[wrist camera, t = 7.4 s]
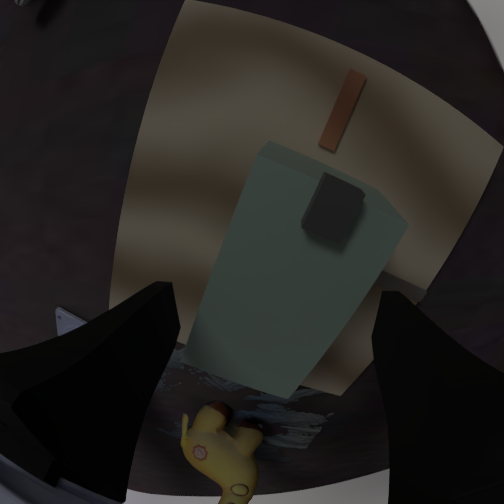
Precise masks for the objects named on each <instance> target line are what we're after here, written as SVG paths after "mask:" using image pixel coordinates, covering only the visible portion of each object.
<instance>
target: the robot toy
mask: <svg viewBox="0 0 504 504" xmlns="http://www.w3.org/2000/svg"><path fill="white" fill-rule="evenodd" d="M15 2H16V4H19V5H20V6H26V5H28V4H29V3H30V2H31V0H15Z"/></svg>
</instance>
